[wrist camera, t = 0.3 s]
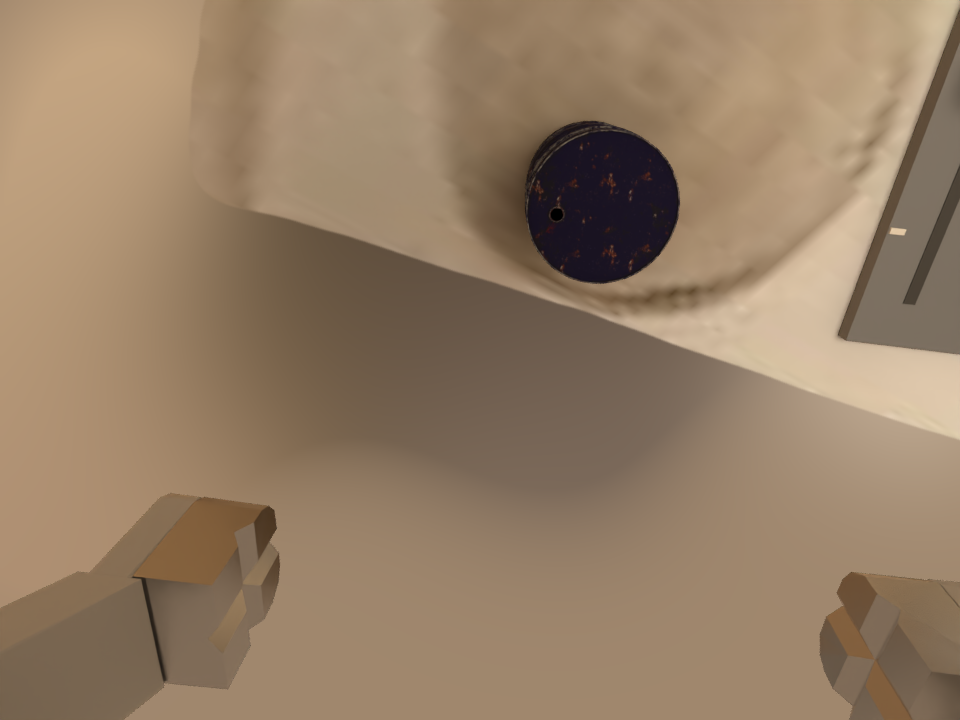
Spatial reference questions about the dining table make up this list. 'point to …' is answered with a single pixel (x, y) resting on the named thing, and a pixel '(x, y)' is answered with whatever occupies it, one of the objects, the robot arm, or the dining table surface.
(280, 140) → the dining table surface
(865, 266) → the console
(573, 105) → the dining table surface
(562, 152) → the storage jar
